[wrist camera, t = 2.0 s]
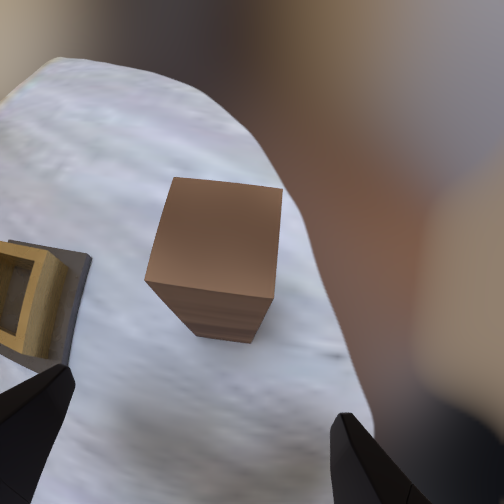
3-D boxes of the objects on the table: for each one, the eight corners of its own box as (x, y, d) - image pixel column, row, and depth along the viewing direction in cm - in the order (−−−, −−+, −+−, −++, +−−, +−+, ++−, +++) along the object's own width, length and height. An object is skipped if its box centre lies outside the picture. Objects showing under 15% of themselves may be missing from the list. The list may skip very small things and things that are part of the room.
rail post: (250, 343, 20) (273, 298, 9) (196, 336, 20) (144, 280, 9) (256, 291, 22) (282, 189, 10) (204, 284, 22) (173, 177, 10)
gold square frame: (65, 382, 18) (33, 380, 14) (-13, 344, 18) (-43, 335, 14) (92, 258, 22) (68, 234, 18) (14, 243, 22) (-11, 223, 18)
